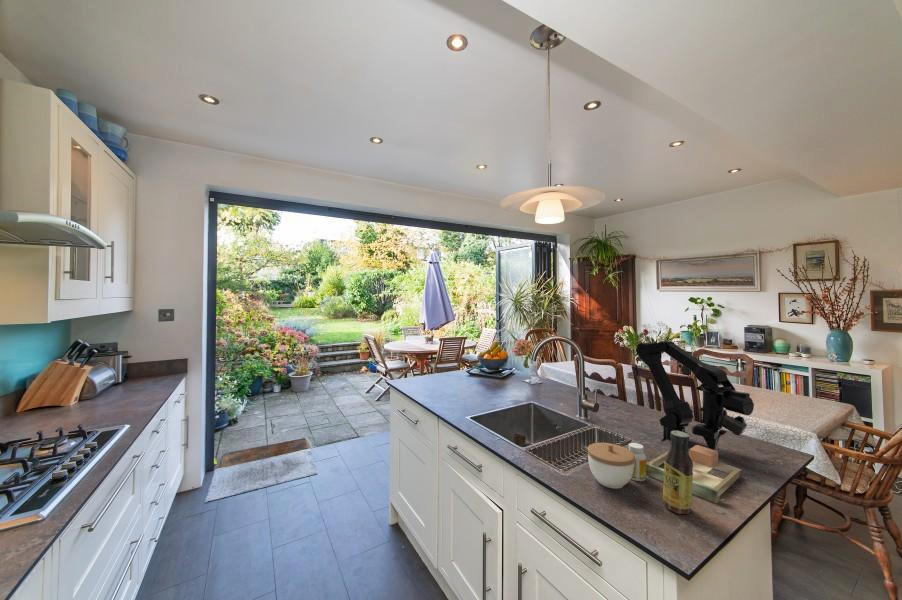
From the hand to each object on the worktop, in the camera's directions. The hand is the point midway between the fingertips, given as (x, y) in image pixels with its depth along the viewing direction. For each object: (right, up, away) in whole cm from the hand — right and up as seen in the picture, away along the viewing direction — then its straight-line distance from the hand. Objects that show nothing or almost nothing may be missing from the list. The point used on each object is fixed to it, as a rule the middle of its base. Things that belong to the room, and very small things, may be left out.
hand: (712, 451), depth 116 cm
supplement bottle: (-33, -3, -12) cm, 35 cm away
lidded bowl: (-42, -3, -15) cm, 45 cm away
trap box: (-13, -2, -11) cm, 17 cm away
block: (-7, -1, -5) cm, 8 cm away
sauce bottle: (-31, -3, -28) cm, 41 cm away
